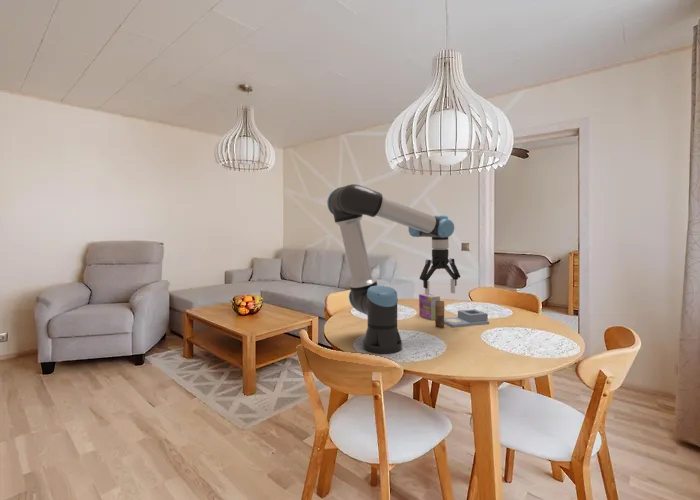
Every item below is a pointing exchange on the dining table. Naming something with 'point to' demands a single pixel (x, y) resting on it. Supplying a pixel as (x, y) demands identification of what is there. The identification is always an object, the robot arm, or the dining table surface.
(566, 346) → the dining table surface
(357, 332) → the dining table surface
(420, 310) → the box
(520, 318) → the dining table surface
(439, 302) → the peg
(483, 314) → the socket board
